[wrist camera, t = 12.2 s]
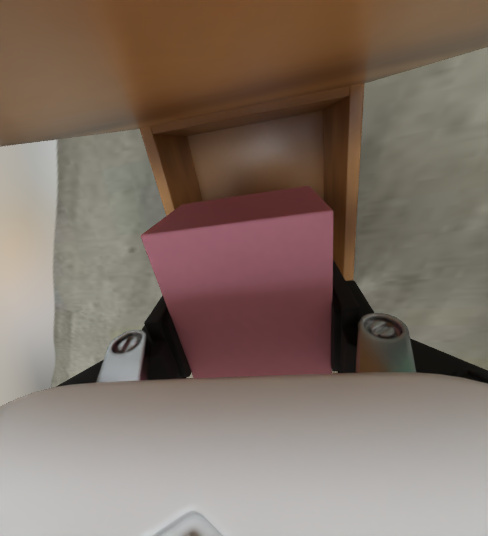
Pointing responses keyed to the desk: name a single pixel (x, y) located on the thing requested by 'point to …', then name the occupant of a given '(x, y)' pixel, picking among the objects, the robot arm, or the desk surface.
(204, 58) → the chest lid
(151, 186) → the desk surface
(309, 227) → the pink rectangular box
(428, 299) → the desk surface
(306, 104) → the chest
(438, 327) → the desk surface
